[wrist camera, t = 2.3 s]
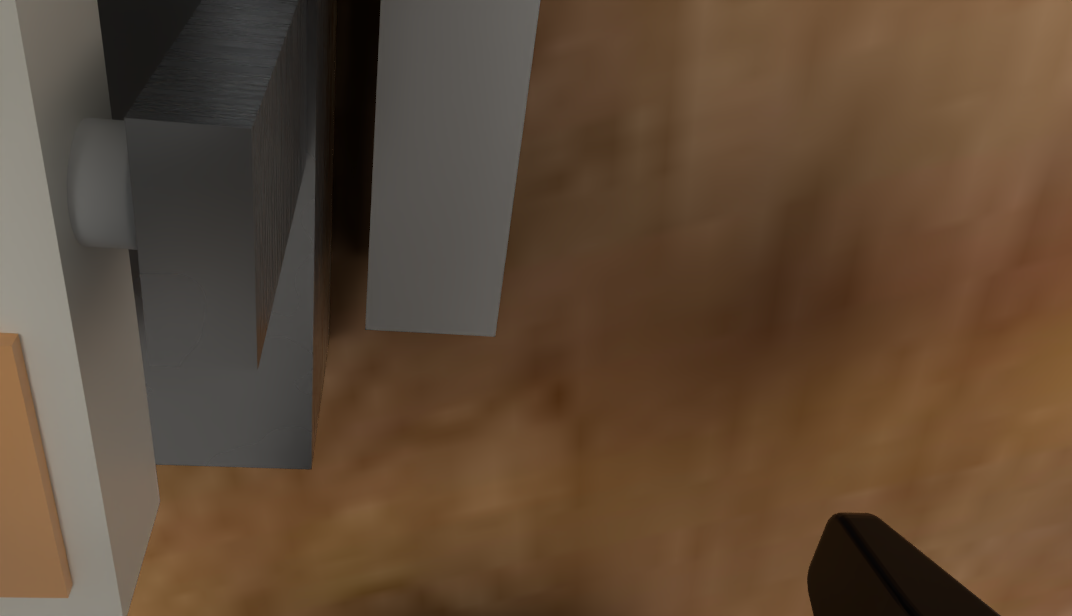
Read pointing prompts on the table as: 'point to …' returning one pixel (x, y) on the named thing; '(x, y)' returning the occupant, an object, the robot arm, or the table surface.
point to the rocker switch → (67, 326)
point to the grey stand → (229, 218)
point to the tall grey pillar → (446, 161)
